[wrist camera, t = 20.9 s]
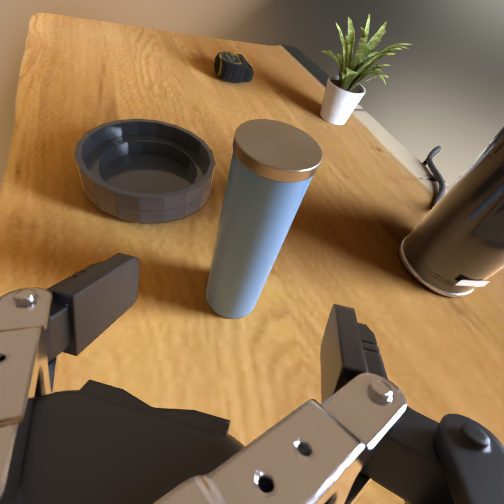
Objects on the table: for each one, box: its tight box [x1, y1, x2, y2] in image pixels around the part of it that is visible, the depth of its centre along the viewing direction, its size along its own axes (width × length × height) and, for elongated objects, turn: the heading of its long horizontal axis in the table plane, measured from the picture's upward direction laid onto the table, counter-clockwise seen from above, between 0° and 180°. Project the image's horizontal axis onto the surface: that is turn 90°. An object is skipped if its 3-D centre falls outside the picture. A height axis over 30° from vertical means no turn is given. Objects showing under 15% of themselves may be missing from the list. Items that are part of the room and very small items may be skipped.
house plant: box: [320, 16, 410, 125], centre depth 52 cm, size 14×14×16 cm
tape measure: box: [214, 52, 253, 82], centre depth 59 cm, size 7×7×4 cm
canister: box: [206, 119, 322, 319], centre depth 23 cm, size 5×5×16 cm
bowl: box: [74, 119, 215, 223], centre depth 35 cm, size 14×14×4 cm
